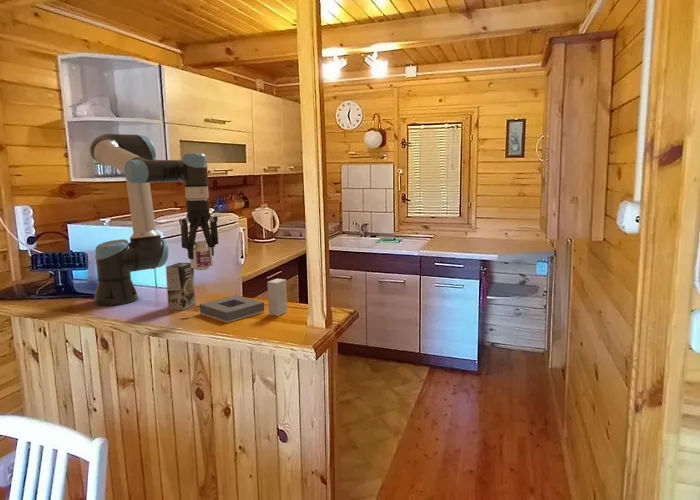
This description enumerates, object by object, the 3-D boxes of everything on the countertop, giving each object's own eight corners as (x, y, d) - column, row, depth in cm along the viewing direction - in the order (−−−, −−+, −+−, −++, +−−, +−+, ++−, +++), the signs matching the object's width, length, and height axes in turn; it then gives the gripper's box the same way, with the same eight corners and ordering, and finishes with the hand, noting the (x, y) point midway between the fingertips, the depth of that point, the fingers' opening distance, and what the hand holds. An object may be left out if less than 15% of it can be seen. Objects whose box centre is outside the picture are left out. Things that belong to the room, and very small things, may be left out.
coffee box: (184, 310, 179) (181, 267, 176) (168, 309, 180) (165, 266, 177) (196, 303, 188) (194, 262, 185) (181, 303, 189) (178, 261, 186)
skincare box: (277, 310, 179) (276, 278, 177) (287, 311, 177) (286, 279, 175) (267, 314, 173) (266, 281, 171) (278, 316, 171) (277, 282, 169)
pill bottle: (203, 270, 167) (201, 242, 165) (190, 270, 169) (188, 242, 167) (213, 267, 172) (211, 240, 170) (200, 267, 174) (199, 240, 172)
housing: (200, 313, 175) (199, 304, 174) (237, 304, 187) (236, 295, 186) (227, 322, 165) (226, 312, 164) (264, 311, 177) (264, 302, 176)
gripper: (178, 201, 157) (183, 272, 161) (227, 198, 171) (230, 264, 174) (166, 200, 162) (171, 269, 166) (215, 197, 176) (218, 261, 179)
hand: (201, 266), depth 170 cm, fingers closed on pill bottle, 5 cm apart
